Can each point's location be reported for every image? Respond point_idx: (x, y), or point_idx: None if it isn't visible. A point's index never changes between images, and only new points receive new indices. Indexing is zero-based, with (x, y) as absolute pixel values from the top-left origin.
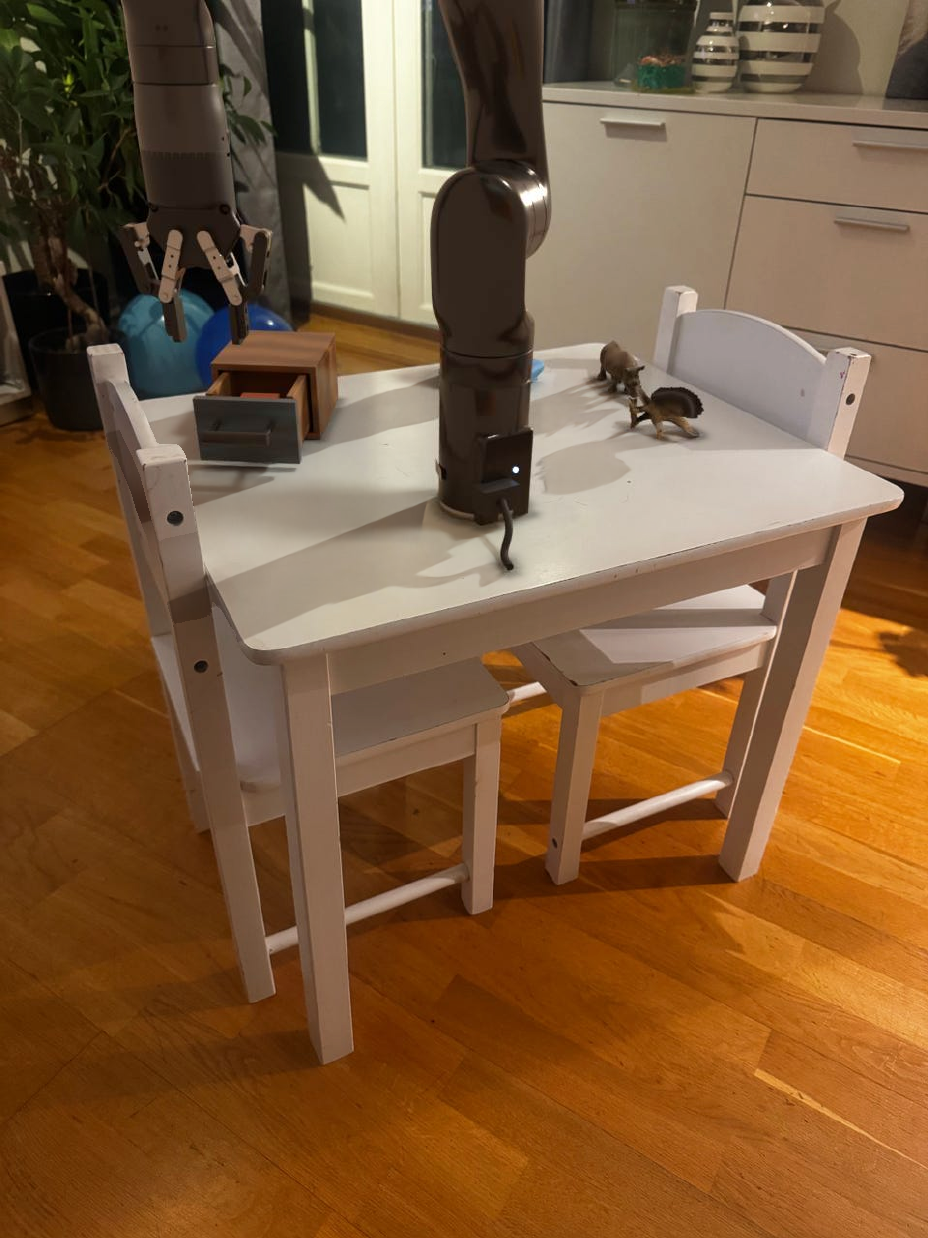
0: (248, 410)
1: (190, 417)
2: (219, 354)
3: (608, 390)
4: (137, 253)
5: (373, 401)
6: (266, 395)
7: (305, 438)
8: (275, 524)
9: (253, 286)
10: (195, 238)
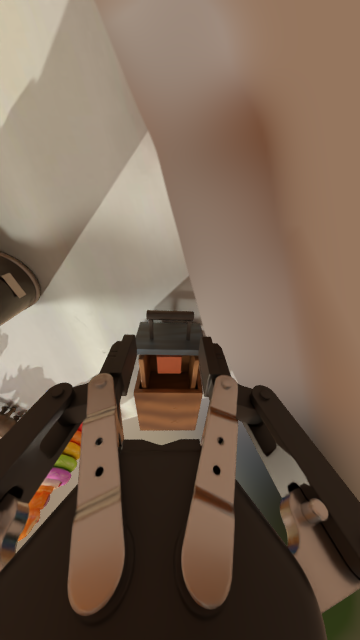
0: (166, 344)
1: None
2: (199, 403)
3: (15, 408)
4: (306, 474)
5: (128, 393)
6: (164, 370)
7: None
8: (134, 244)
9: (51, 403)
10: (145, 547)
